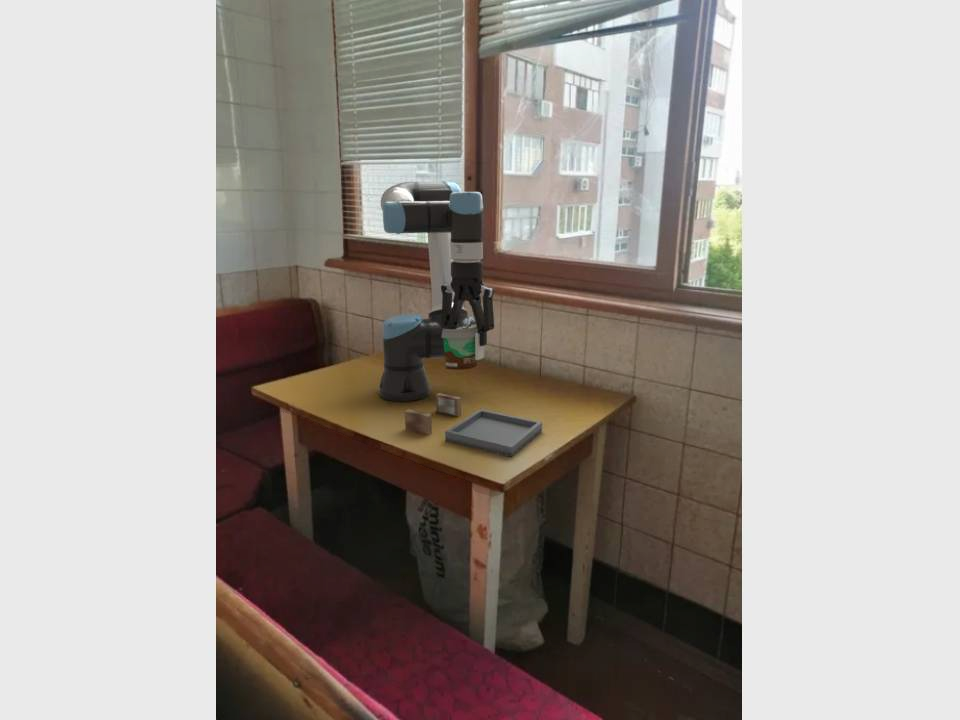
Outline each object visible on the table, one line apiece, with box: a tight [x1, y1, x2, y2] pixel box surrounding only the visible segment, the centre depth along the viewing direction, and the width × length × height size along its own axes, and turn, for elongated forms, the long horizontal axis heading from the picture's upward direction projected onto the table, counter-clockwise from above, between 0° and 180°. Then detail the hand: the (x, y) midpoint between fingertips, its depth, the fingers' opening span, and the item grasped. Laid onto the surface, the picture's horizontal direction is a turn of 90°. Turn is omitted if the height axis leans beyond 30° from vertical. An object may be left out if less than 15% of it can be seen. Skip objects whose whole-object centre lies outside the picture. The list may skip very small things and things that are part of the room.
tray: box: [444, 408, 543, 458], centre depth 145 cm, size 18×17×2 cm
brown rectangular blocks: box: [404, 392, 462, 436], centre depth 153 cm, size 7×16×5 cm, turn 150°
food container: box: [441, 320, 479, 371], centre depth 142 cm, size 12×6×10 cm, turn 146°
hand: (467, 356), depth 143 cm, fingers closed on food container, 6 cm apart
